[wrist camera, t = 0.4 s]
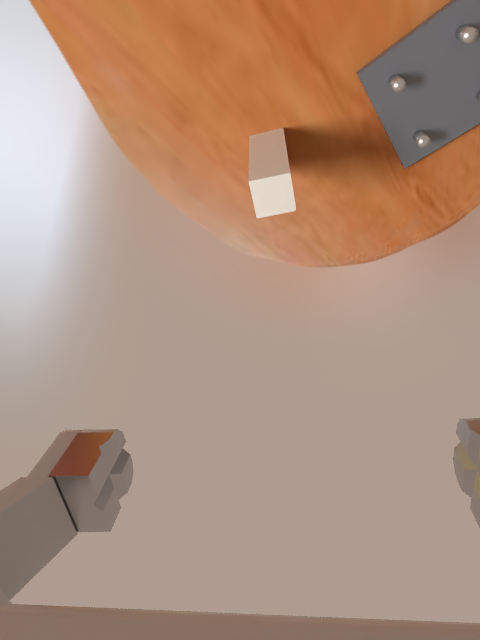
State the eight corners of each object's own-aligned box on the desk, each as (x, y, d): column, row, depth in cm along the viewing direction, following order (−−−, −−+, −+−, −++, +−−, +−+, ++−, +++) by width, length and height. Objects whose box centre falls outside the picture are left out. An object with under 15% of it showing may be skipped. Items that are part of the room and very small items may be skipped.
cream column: (249, 135, 54) (248, 181, 44) (283, 127, 53) (290, 172, 43) (256, 168, 57) (257, 218, 47) (288, 161, 56) (296, 210, 46)
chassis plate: (356, 72, 48) (362, 80, 46) (479, -21, 42) (494, -18, 40) (402, 165, 56) (410, 176, 53) (512, 97, 50) (527, 106, 47)
